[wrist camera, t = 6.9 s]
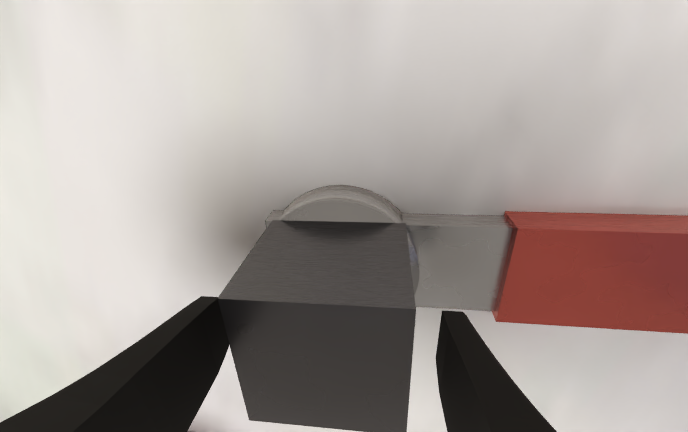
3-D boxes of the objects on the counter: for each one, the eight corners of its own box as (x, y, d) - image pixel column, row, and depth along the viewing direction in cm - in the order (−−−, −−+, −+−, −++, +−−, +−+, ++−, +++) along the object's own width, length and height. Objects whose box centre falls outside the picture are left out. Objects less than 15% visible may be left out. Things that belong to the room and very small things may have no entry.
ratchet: (760, 189, 12) (940, 254, 8) (682, 324, 14) (786, 419, 11) (266, 182, 14) (220, 230, 10) (283, 300, 16) (253, 373, 13)
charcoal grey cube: (405, 222, 12) (416, 308, 8) (400, 326, 14) (405, 435, 10) (272, 220, 12) (217, 298, 8) (287, 320, 15) (249, 420, 10)
